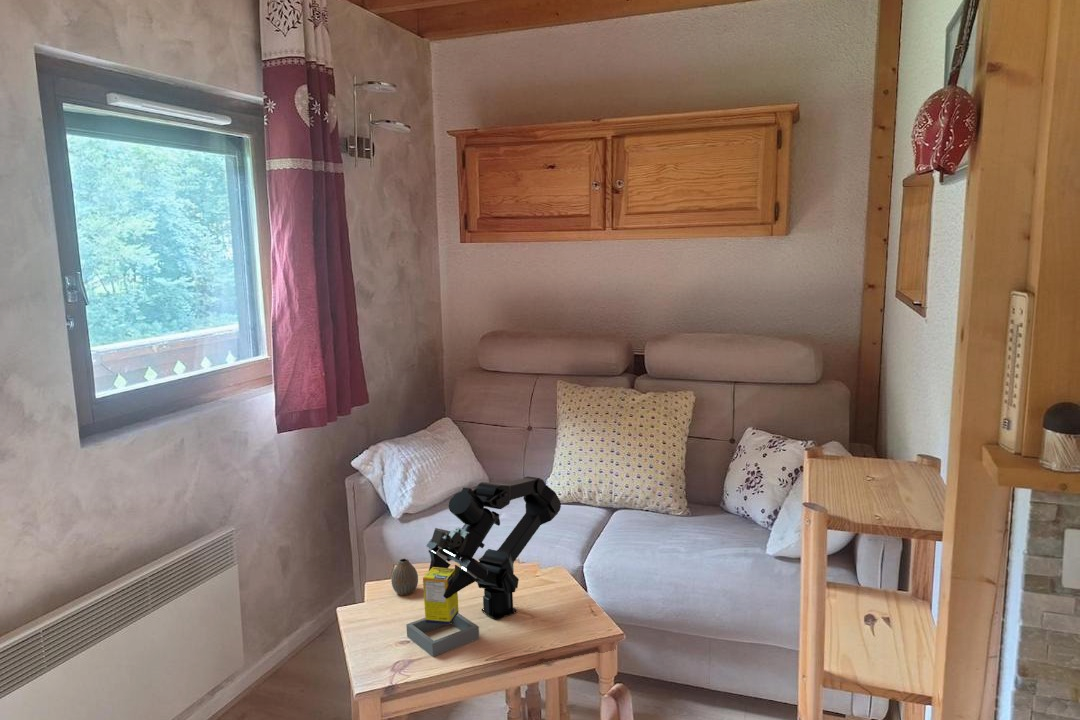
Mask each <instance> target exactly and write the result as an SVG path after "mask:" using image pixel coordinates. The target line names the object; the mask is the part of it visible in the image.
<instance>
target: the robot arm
mask: <svg viewBox="0 0 1080 720" xmlns="http://www.w3.org/2000/svg"><path fill="white" fill-rule="evenodd" d="M520 498H523V500H524V502H525V513H524V515H523V516H522V517H521V519H520V520H519V521H518V523H517V524H516V525H515V527H514V528H513V529H512V531H510V533H509V535H508V536H506V538H505V539H504V541H503V543H502V544H501V545H500V546H499V548H497V549H496V550H495V549H492V548H491V549H490V548H488V549H486V550H485V552H484V553H483V555H482V556H481V557H479V559H478V560H477V559H475V558H474V556H475V554H476V552H477V551H478V549H479V548H481V549H484V547H485V546H486V545H485V543H483V542H484V540H485V538H486V537H487V535H488V533H489V532H490V530H491V529H492V528H493V526H494V525H496V526H498V527H499V526H500V525H501V521H500V514H499V513H497V512H496V511H494V510H495V509H496V510H503V509H504V508H506V507H508V506H509V505H510V503H511V501H513V500H515V499H520ZM561 502H562V501H561V500H560V498H559V496H558V495H557V493H556V492H555V491H554V490H553V489H552V488H551V487H549V486H548V485H547V484H546V482H545V480H544V479H542V478H541V477H536V476H524V477H523V478H519V479H516V480H510V481H506V482H502V483H500V482H499V483H497V482H496V483H495V482H487V481H482V482H480V483H478V484H477V487H475V488H474V489H473V490H472V488H471V487H462V489H461V491H458V492H457V493H455V494H454V495H453V496H452V497H451V498H450V499H449V501H448V510H449V512H450V513H451V514H452V515H453V516H454V517H456V518H457V519H458V521H460V522H462V524H464V525H463V526H462V528H460V527H459V526H458V527H456V528H455V530H451V531H450V530H446V529H442V528H437V527H435V528H434V531H433V534H432V537H431V539H430V540H429V541H428V542H427V544H426V548H427V549H428V553H429V556H430V564H429V568H428V571H427V573H428V572H429V571H430V569H431V568H432V567H439V568H450V566H451V564H450V563H449V562H450V561H453V562H455V563H456V564H459V566H458V565H456V564H455V565H454V569H455V575H454V576H453V578H452V580H451V582H450V584H449V585H448V587H447V589H446V591H445V593H444V595H443V597H445V598H446V599H447V598H449V597H450V596H452V595H454V594H455V593H457V592H460V591H461V590H463V589H464V588H466V587H468V586H470V585H472V584H473V583H477V585H478V586H477V587H478V588H479V589H483V592H484V593H483V596H482V604H483V605H482V606H483V608H481V612H482V611H484V612H485V613H486V614H485V613H484V612H483V613H484V614H485V615H487V616H488V615H489V617H490V618H491V619H493V620H495V621H496V620H500V619H502V618H505V617H507V616H511V615H513V614H515V613H517V612H518V609H516V608H515V607H514V595H513V593H515V592H516V589H518V586H519V578H518V577H517V576H516V575H515V574H514V563H515V561H516V560H517V558H518V557H519V556H520V554H521V553H522V552H523V550H524V549H525V547H526V546H527V545H528V543H529V542H530V541H531V539H532V538H533V537H534V535H535V534H536V533H537V531H538V529H539V528H540V526H542V525H545V524H546V523H549V522H551V521H552V520H553V519H554V518H555V517H556V516H558V514H559V512H560V511H561V508H562V507H561V506H562V503H561ZM488 508H490V509H494V510H490V509H488ZM483 609H484V610H483Z"/></svg>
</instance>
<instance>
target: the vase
mask: <svg viewBox="0 0 1080 720" xmlns="http://www.w3.org/2000/svg"><path fill="white" fill-rule="evenodd" d="M391 573H392V574H391V580H390V581H391V585H392V588H393V591H394V592H395V593H396V594H398V595H399V596H409V595H412V594H413V593H414V592H415V591H416V589H417V587H418V584H419V575H418V571H417V569H416V568H415V566H414V565H413V564H412V563H411V562H410V560H409V559H408V558H401V559H399V560H398V562H397V564H396V566H395V568H394V569H393V571H392V572H391Z"/></svg>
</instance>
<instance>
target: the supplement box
mask: <svg viewBox="0 0 1080 720" xmlns="http://www.w3.org/2000/svg"><path fill="white" fill-rule="evenodd" d="M428 571H429V570H428ZM428 571H427V573H425V575H424V576H423V577H422V582H423V583H422V585H423V586H422V587H423V588H422V589H423V599H424V600H423V601H424V602H423V603H424V614H425V616H424V618H426V623H438V624H447V625H452V624H451V622H452V621H453V619H454V618H455V617H456V615H457V614H458V613H459V612H460V611H459V599H458V598H459V597H458V596H459V595H458V592H459V591H458V592H457V593H455V594H454V595H452V596H450V597H449V598H447V599H446V598H445V597H443V595H444V593H445V591H446V589H447V587H448V585H449V584H450V582H451V580H452V578H453V576H454V575H455V568H450V567H448V568H439V567H432V568H431V569H430V571H429V572H428Z"/></svg>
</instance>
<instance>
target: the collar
mask: <svg viewBox="0 0 1080 720" xmlns="http://www.w3.org/2000/svg"><path fill="white" fill-rule="evenodd" d="M451 623H452V624H451V625H453V626H454V627H456V628H457V629H458V631H456V632H454V633H450V634H448V635H446V636H443V637H440V638H438V639H432V638H431V637H430V636H428V635H427V634H425V633H427V632H430V631H432V630H436V629H439V628H441V627H444V626H446V625H445V624H438V623H426V618H425V617H424V618H421V619H417V620H415V621H412V622H409V623H407V624H406V636H407V638H409V639H410V641H412V642H414V643H415V644H416V645H417V646H419V647H420V648H421V649H422V650H424V651H425V652H426V653H427V654H428V655H430V656H431V657H432V658H433V657H437V656H439V655H441V654H444V653H447V652H449V651H452V650H455V649H457V648H460V647H462V646H465V645H467V644H470V643H473V642H475V641H478V640H480V627H479V626H478V625H477V624H476V623H474V622H473V621H471V620H469V619H468V618H467V617H465V616H464V615H462V614H460V613H459V612H458V614H457V615H456V617H455V618H454V619H453V621H452V622H451ZM443 625H444V626H443ZM438 627H439V628H438ZM435 628H436V629H435Z"/></svg>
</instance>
